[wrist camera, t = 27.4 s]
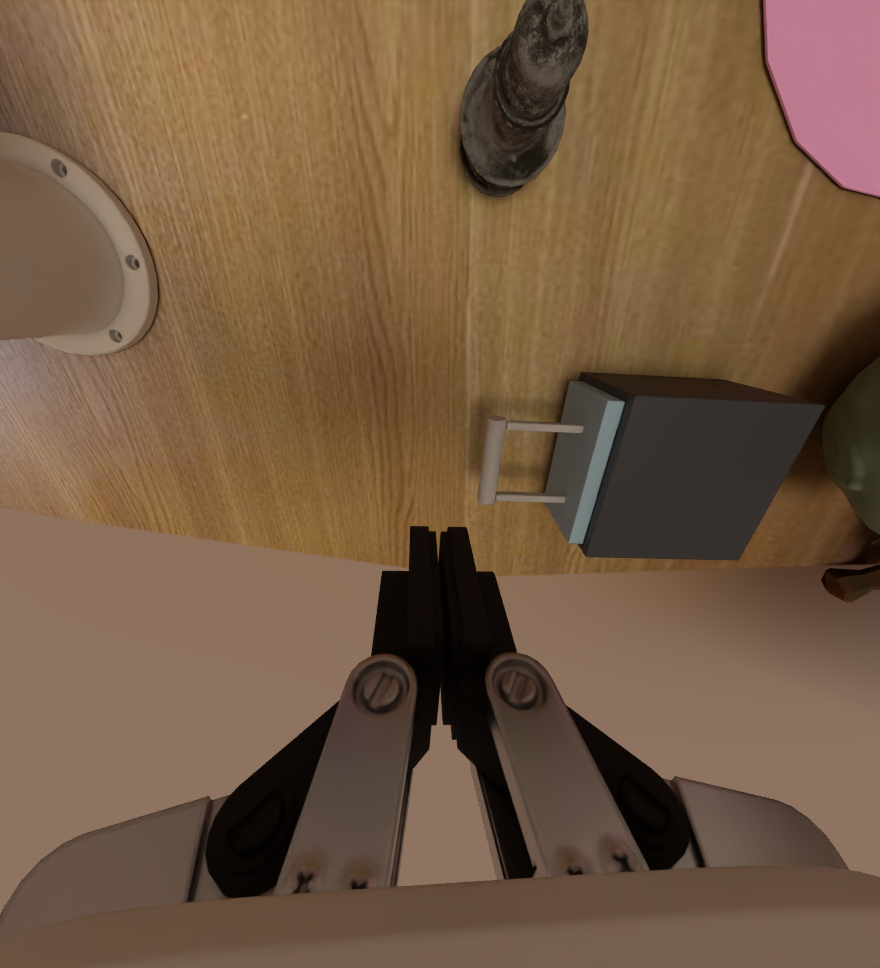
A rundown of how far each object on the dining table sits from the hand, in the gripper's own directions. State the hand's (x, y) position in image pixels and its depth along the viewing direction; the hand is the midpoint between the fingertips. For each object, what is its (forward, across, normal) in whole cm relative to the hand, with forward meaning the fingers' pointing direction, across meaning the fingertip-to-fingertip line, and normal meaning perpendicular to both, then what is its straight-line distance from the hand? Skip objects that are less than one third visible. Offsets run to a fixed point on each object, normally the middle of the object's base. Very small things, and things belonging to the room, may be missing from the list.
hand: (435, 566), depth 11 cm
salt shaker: (+22, -4, -16) cm, 28 cm away
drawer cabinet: (+21, -19, +4) cm, 29 cm away
